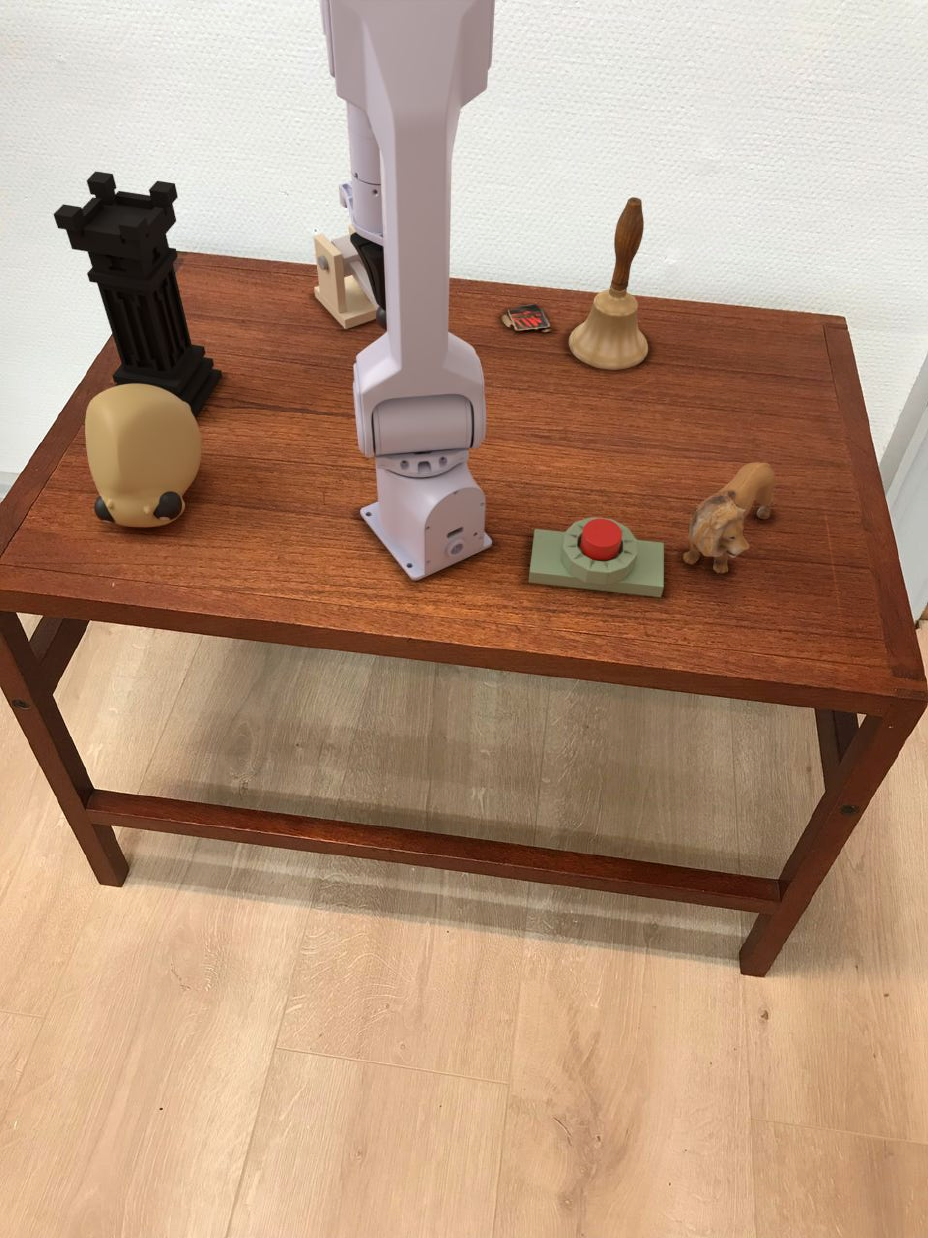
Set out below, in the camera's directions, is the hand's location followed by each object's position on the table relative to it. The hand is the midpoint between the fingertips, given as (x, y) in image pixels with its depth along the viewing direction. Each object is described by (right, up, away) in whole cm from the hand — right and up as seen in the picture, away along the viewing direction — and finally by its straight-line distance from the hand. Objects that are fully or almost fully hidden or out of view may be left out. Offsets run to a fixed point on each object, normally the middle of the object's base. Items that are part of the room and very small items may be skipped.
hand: (389, 303), depth 97 cm
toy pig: (-20, -20, -10) cm, 30 cm away
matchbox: (+14, 0, +8) cm, 16 cm away
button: (+19, -25, -16) cm, 35 cm away
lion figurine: (+30, -25, -12) cm, 41 cm away
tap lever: (-3, +2, +4) cm, 5 cm away
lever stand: (-5, +2, +9) cm, 10 cm away
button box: (+19, -27, -14) cm, 36 cm away
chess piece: (-21, -9, -1) cm, 24 cm away
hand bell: (+22, -3, +5) cm, 23 cm away
